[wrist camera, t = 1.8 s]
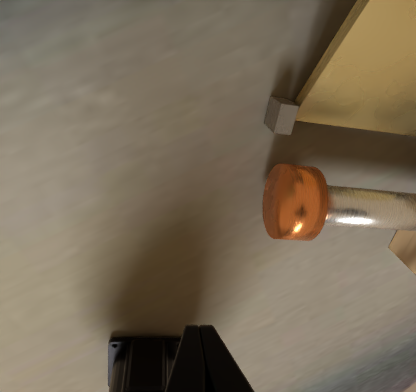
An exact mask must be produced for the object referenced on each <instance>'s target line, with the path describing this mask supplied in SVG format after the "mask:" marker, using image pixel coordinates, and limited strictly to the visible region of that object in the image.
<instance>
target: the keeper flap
mask: <svg viewBox="0 0 416 392" xmlns="http://www.w3.org/2000/svg"><path fill="white" fill-rule="evenodd" d="M294 104H296V105H298V106H299V108H298V112H297V115H296V119H295V120H296V121H304V122H311V123H319V124H326V125H334V126H342V127H349V128H357V129H364V130H372V131H379V132H387V133H395V134H402V135H410V136H416V0H357V1H356V3H355V4H354V6H353V8H352V9H351V11H350V12H349V14H348V16H347V17H346V19H345V21H344V22H343V24H342V25H341V27H340V29H339V30H338V32H337V33H336V35H335V37H334V38H333V40H332V42H331V43H330V45H329V46H328V48H327V50H326V51H325V53H324V55H323V56H322V58H321V59H320V61H319V63H318V64H317V66H316V67H315V69H314V71H313V72H312V74H311V76H310V77H309V79H308V80H307V82H306V84H305V85H304V87H303V89H302V90H301V92H300V93H299V95H298V97H297V98H296V100H295V101H294Z"/></svg>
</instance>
